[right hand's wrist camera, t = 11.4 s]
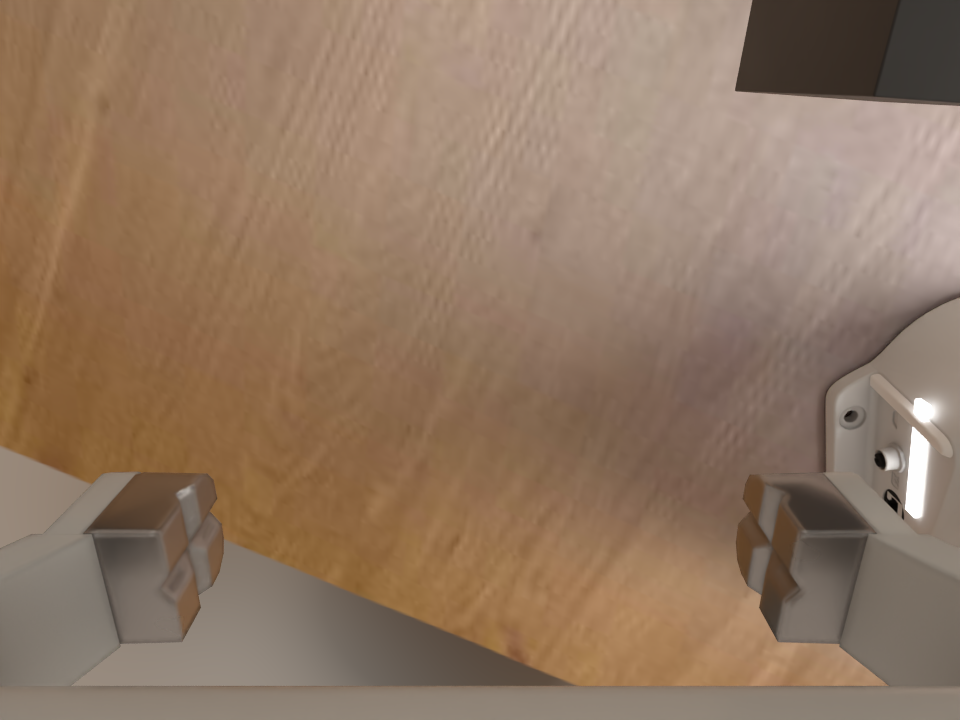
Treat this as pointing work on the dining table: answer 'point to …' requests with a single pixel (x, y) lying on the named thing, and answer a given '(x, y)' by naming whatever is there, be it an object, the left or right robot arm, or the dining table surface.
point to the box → (854, 50)
